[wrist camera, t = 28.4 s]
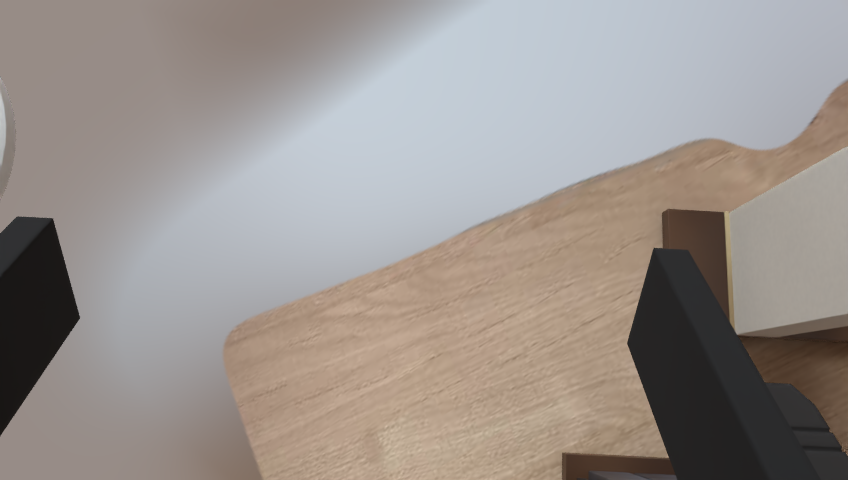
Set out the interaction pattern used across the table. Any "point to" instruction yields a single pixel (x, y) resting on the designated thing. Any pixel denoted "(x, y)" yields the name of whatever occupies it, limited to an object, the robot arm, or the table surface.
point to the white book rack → (720, 260)
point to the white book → (793, 254)
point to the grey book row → (615, 467)
